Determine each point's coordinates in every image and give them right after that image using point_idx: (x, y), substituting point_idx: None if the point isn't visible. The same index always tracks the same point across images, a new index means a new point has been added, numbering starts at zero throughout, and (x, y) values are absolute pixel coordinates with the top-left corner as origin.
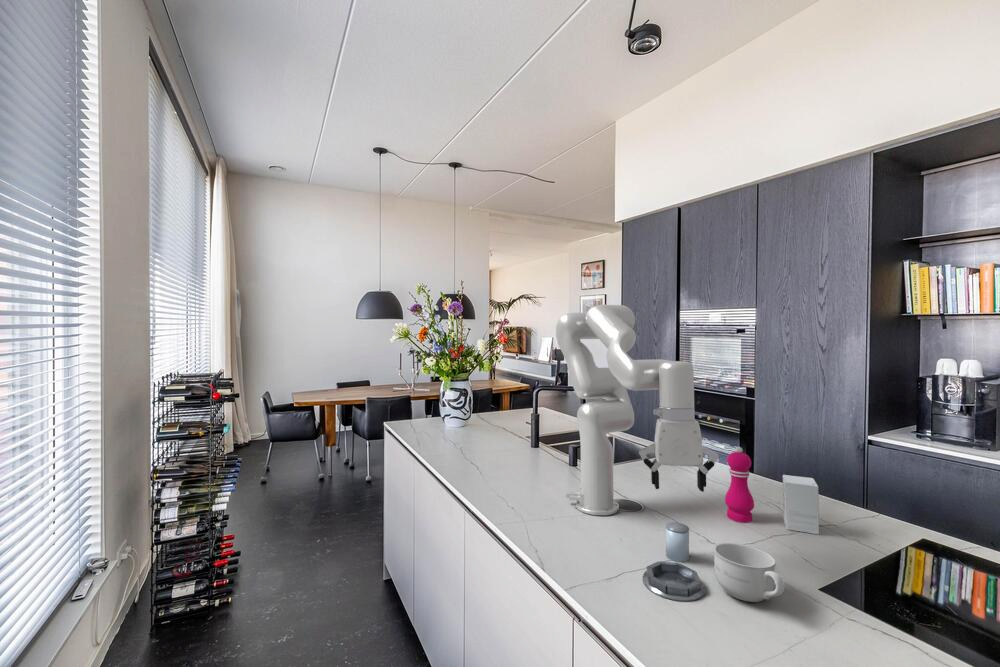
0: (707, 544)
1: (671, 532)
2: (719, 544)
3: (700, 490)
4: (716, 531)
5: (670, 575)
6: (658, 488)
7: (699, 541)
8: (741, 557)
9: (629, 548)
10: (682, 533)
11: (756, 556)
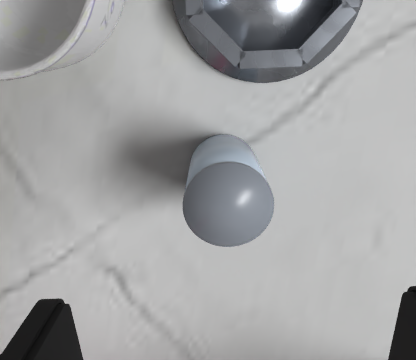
0: (126, 259)
1: (256, 168)
2: (70, 35)
3: (66, 304)
4: (93, 334)
5: (269, 24)
6: (410, 292)
7: (146, 271)
8: (11, 64)
9: (363, 187)
10: (214, 163)
11: None
